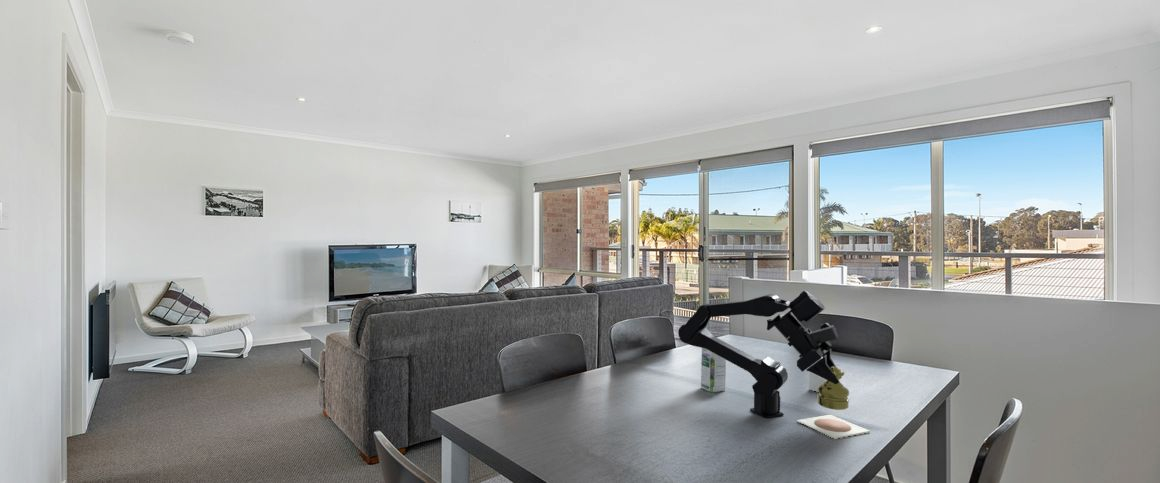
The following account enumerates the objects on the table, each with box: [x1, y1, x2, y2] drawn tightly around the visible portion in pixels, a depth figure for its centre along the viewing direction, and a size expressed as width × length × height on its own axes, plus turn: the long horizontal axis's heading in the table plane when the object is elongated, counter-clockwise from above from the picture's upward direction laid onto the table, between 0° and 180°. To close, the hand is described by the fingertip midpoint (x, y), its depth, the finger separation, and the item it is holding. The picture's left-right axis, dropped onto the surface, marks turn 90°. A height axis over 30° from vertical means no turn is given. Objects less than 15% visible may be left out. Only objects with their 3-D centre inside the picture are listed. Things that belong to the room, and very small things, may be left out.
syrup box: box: [700, 348, 727, 393], centre depth 160 cm, size 6×6×14 cm
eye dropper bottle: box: [808, 371, 826, 393], centre depth 159 cm, size 4×6×12 cm
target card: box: [796, 414, 871, 440], centre depth 129 cm, size 12×12×1 cm
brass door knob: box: [816, 366, 850, 411], centre depth 129 cm, size 7×7×10 cm
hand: (839, 380), depth 128 cm, fingers closed on brass door knob, 5 cm apart
